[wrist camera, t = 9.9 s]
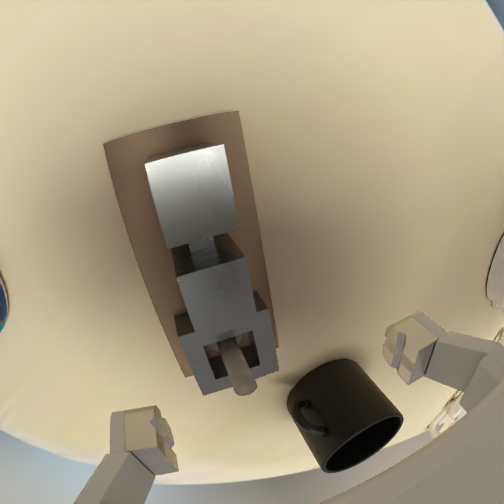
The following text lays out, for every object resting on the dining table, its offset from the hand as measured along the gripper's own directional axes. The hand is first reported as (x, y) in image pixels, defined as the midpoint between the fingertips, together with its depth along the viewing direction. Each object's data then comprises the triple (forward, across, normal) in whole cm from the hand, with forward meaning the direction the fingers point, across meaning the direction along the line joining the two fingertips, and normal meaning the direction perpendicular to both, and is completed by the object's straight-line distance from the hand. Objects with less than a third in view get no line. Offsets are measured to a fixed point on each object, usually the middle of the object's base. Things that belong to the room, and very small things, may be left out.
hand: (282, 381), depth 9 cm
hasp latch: (+11, +1, +2) cm, 12 cm away
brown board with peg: (+13, +1, +1) cm, 13 cm away
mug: (+13, -7, +20) cm, 25 cm away
